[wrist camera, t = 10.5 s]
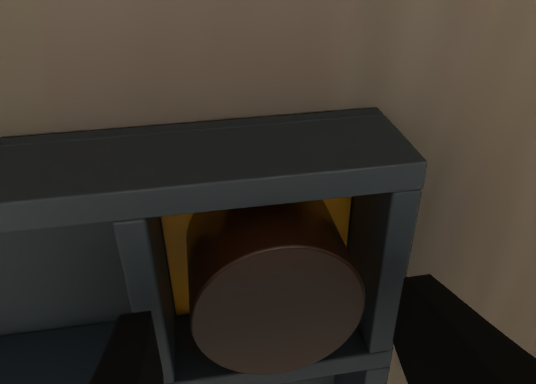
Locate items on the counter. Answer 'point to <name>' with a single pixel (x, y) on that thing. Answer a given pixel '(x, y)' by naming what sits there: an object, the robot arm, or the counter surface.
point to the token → (270, 286)
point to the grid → (175, 231)
